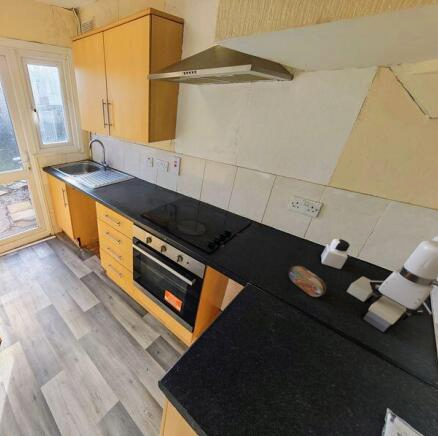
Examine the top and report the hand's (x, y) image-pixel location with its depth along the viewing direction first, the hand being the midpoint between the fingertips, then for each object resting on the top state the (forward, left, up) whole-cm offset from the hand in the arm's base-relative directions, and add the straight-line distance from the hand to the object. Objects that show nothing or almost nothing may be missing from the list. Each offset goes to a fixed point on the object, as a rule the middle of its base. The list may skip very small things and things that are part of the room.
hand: (386, 311), depth 83 cm
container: (+27, -20, -5) cm, 34 cm away
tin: (+23, +10, -5) cm, 26 cm away
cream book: (0, 0, 0) cm, 0 cm away
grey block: (0, 0, -5) cm, 5 cm away
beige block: (+10, -10, -5) cm, 15 cm away
